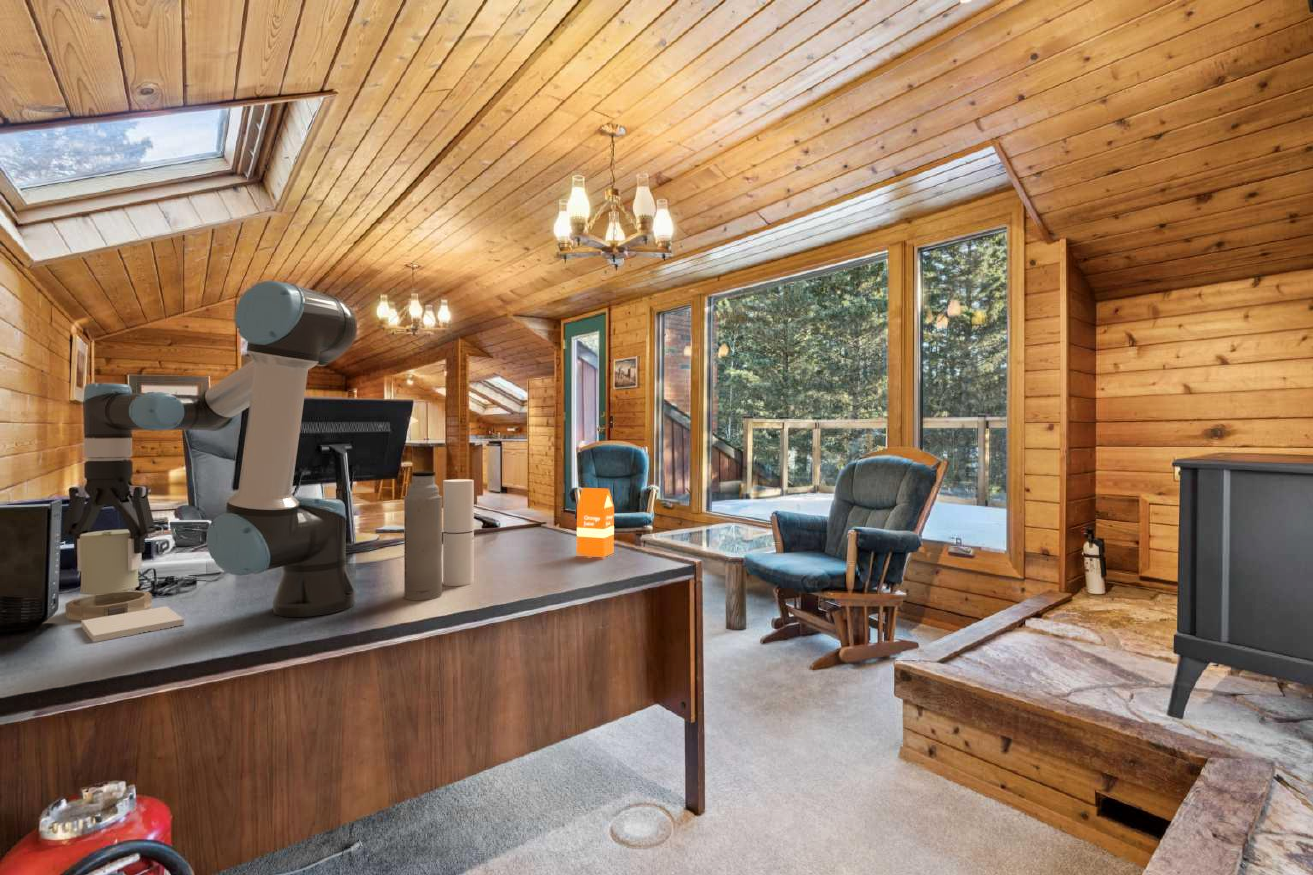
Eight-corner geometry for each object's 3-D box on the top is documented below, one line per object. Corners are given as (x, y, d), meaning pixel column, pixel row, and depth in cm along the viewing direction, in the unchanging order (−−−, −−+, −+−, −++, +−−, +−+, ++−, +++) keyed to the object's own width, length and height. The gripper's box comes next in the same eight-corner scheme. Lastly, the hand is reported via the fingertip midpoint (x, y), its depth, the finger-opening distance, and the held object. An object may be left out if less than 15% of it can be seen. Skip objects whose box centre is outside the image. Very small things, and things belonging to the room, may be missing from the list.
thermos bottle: (399, 600, 140) (399, 472, 139) (410, 591, 148) (410, 470, 147) (436, 600, 141) (436, 472, 140) (445, 590, 148) (445, 470, 148)
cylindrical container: (436, 584, 155) (436, 481, 154) (456, 577, 161) (456, 478, 161) (460, 587, 152) (460, 482, 151) (479, 580, 158) (479, 479, 158)
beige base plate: (183, 625, 122) (183, 618, 122) (93, 642, 112) (93, 635, 112) (166, 612, 130) (166, 606, 130) (81, 626, 120) (81, 620, 120)
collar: (158, 611, 131) (158, 599, 131) (72, 626, 121) (72, 612, 121) (141, 597, 141) (141, 586, 141) (61, 610, 131) (61, 598, 131)
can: (75, 597, 124) (74, 535, 124) (84, 587, 132) (84, 529, 132) (136, 590, 129) (135, 531, 129) (141, 581, 137) (141, 525, 137)
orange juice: (587, 551, 196) (587, 486, 196) (614, 553, 193) (614, 487, 193) (576, 556, 189) (576, 488, 189) (603, 558, 186) (604, 490, 186)
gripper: (177, 458, 135) (178, 564, 135) (68, 458, 133) (69, 566, 134) (151, 460, 127) (152, 572, 128) (35, 460, 126) (37, 574, 126)
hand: (110, 569), depth 131 cm, fingers closed on can, 9 cm apart
